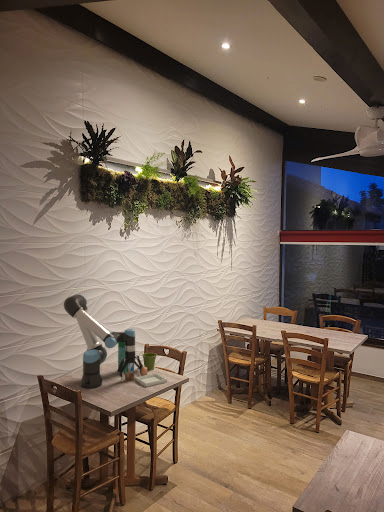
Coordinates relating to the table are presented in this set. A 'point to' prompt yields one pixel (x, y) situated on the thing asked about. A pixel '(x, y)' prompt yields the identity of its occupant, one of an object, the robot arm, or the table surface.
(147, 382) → the pale grey tray
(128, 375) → the walnut cube
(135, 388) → the table surface
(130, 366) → the milk carton
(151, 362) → the plant pot
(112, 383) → the table surface
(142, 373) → the terracotta cylinder
